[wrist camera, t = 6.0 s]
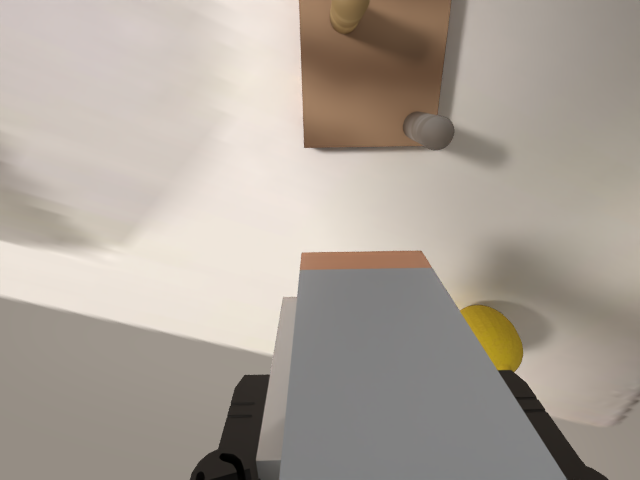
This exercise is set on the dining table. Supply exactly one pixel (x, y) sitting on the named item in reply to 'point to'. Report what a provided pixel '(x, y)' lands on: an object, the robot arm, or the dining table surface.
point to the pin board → (373, 72)
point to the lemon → (495, 336)
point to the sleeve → (396, 381)
